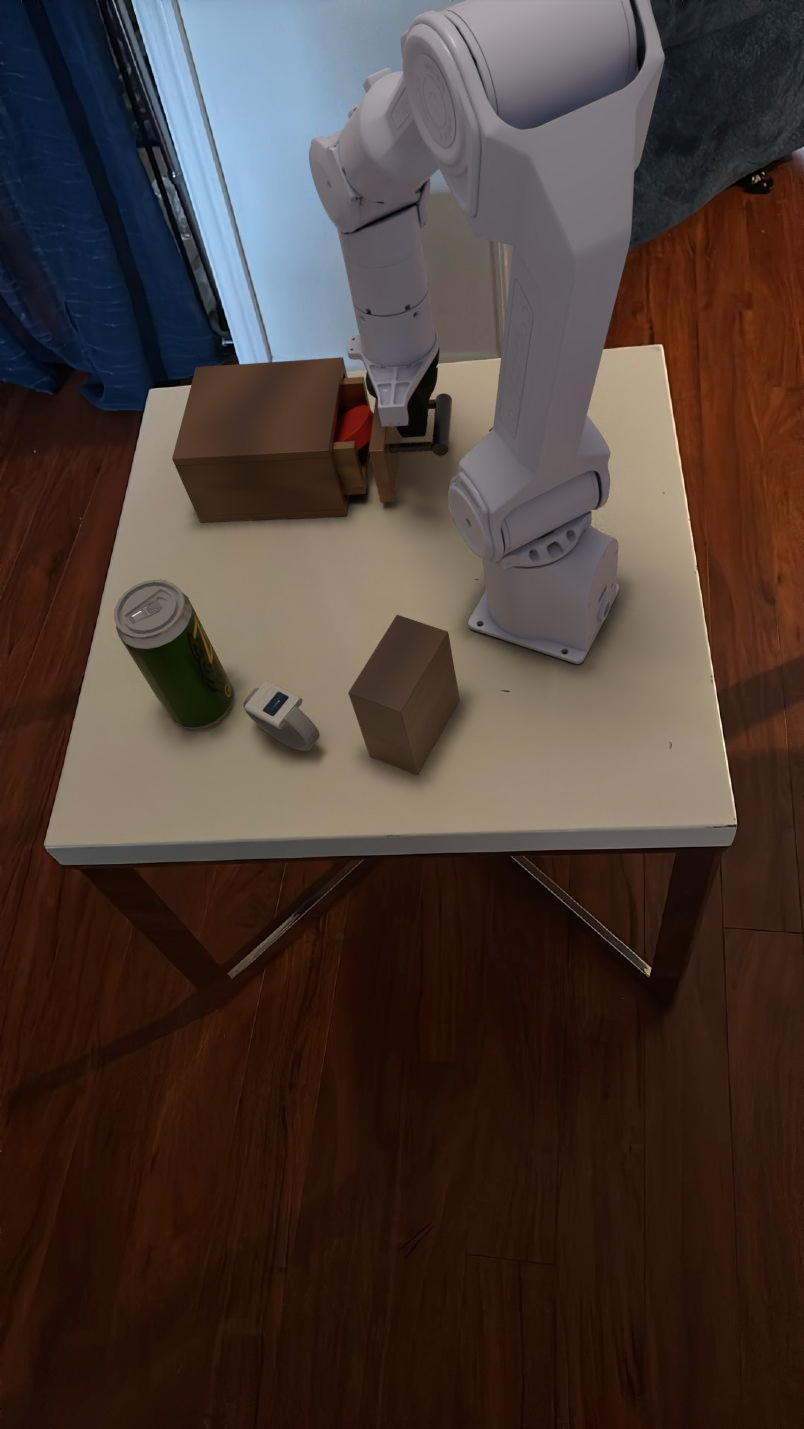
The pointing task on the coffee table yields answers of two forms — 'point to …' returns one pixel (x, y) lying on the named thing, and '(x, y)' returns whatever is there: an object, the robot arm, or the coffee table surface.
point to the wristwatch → (281, 716)
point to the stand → (406, 693)
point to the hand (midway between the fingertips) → (414, 431)
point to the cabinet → (262, 441)
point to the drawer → (382, 443)
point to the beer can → (174, 653)
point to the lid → (354, 426)
